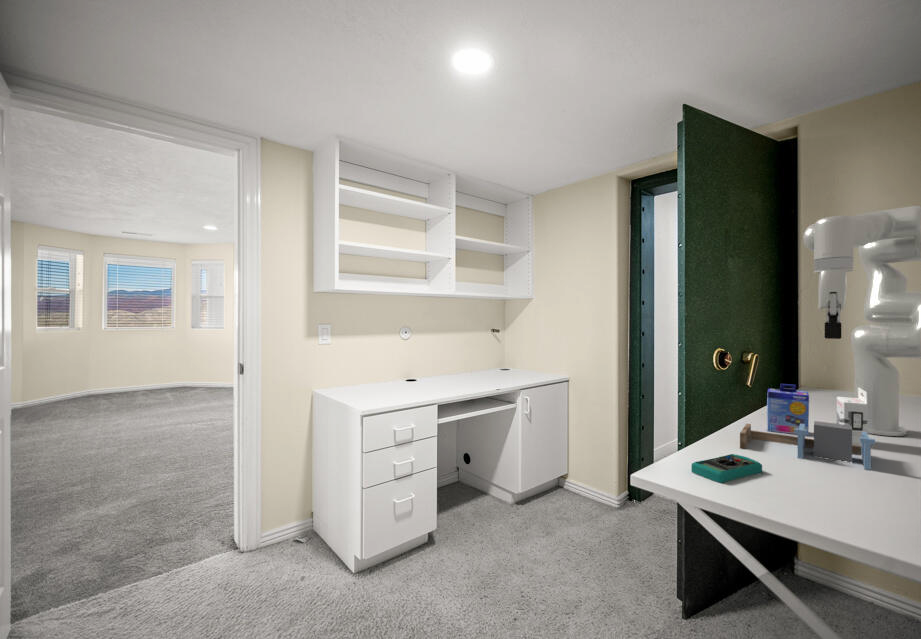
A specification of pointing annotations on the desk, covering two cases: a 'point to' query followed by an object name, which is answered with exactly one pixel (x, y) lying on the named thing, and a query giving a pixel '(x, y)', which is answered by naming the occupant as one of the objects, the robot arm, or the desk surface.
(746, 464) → the digital multimeter
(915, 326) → the robot arm
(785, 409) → the ink cartridge box
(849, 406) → the ink box
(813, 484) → the desk surface
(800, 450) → the pair of blue brackets
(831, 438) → the charcoal plug
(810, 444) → the brown l-shaped bracket
